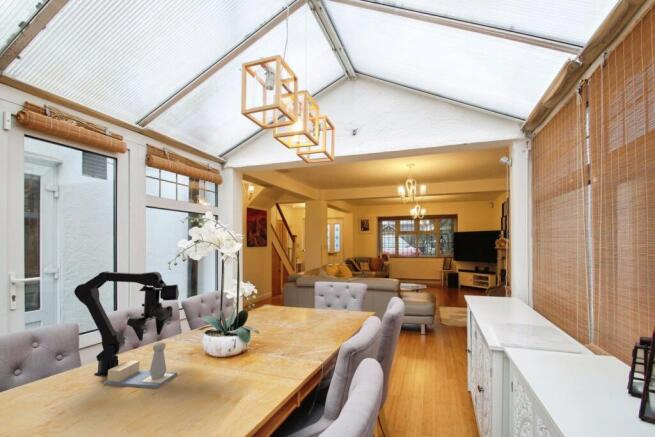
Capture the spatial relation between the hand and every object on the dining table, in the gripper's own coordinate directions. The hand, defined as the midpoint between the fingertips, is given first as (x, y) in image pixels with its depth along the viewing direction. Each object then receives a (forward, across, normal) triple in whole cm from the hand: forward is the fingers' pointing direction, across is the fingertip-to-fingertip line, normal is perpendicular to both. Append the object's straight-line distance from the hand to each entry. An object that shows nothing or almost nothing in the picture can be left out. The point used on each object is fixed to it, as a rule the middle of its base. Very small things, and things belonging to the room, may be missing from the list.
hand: (150, 337), depth 133 cm
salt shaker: (+12, -8, -13) cm, 19 cm away
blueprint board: (+13, -9, -6) cm, 17 cm away
